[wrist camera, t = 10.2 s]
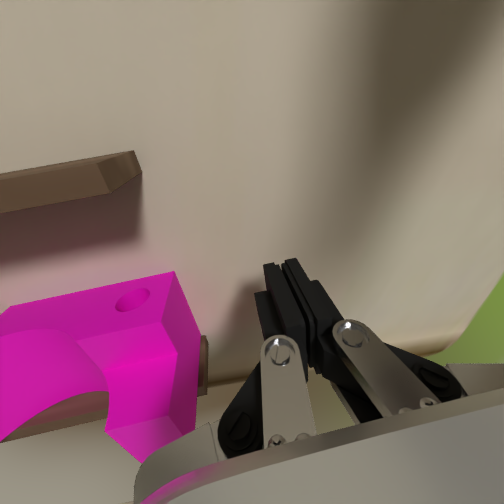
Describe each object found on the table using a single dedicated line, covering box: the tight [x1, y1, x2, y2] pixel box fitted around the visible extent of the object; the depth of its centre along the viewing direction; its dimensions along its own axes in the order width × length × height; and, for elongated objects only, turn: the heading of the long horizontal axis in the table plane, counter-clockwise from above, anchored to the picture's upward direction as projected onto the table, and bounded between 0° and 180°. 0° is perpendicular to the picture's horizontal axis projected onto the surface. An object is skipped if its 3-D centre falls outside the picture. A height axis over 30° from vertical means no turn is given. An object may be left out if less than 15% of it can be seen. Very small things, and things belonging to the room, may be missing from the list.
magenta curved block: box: [0, 271, 201, 463], centre depth 13 cm, size 15×6×8 cm, turn 99°
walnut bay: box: [0, 150, 208, 443], centre depth 12 cm, size 15×18×4 cm
